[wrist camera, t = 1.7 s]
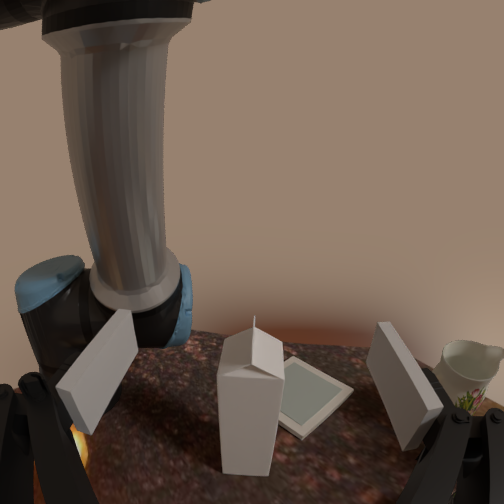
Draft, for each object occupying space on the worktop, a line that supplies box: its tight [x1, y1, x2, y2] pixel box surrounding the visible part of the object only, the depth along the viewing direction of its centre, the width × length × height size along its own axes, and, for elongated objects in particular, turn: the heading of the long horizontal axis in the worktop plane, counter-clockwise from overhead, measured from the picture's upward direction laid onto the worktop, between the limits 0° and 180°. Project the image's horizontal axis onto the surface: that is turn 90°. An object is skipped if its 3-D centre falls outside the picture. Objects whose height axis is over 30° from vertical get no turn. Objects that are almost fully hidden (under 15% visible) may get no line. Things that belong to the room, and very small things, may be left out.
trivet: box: [278, 356, 354, 440], centre depth 45 cm, size 14×14×1 cm
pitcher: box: [432, 340, 504, 416], centre depth 34 cm, size 11×18×14 cm, turn 85°
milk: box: [217, 315, 285, 476], centre depth 29 cm, size 6×6×22 cm
